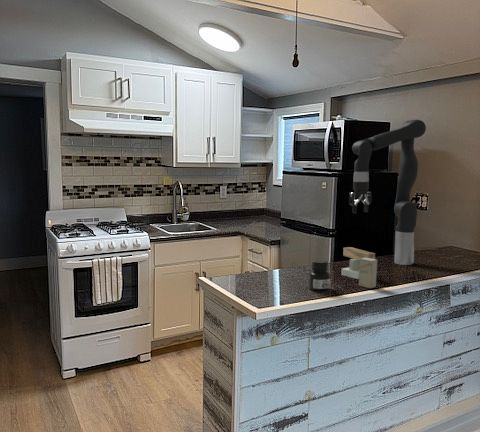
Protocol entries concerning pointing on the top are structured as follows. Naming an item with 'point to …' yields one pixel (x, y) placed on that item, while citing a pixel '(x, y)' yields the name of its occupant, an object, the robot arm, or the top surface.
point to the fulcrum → (352, 269)
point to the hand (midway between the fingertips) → (360, 212)
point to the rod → (357, 253)
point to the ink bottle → (319, 276)
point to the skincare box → (368, 272)
